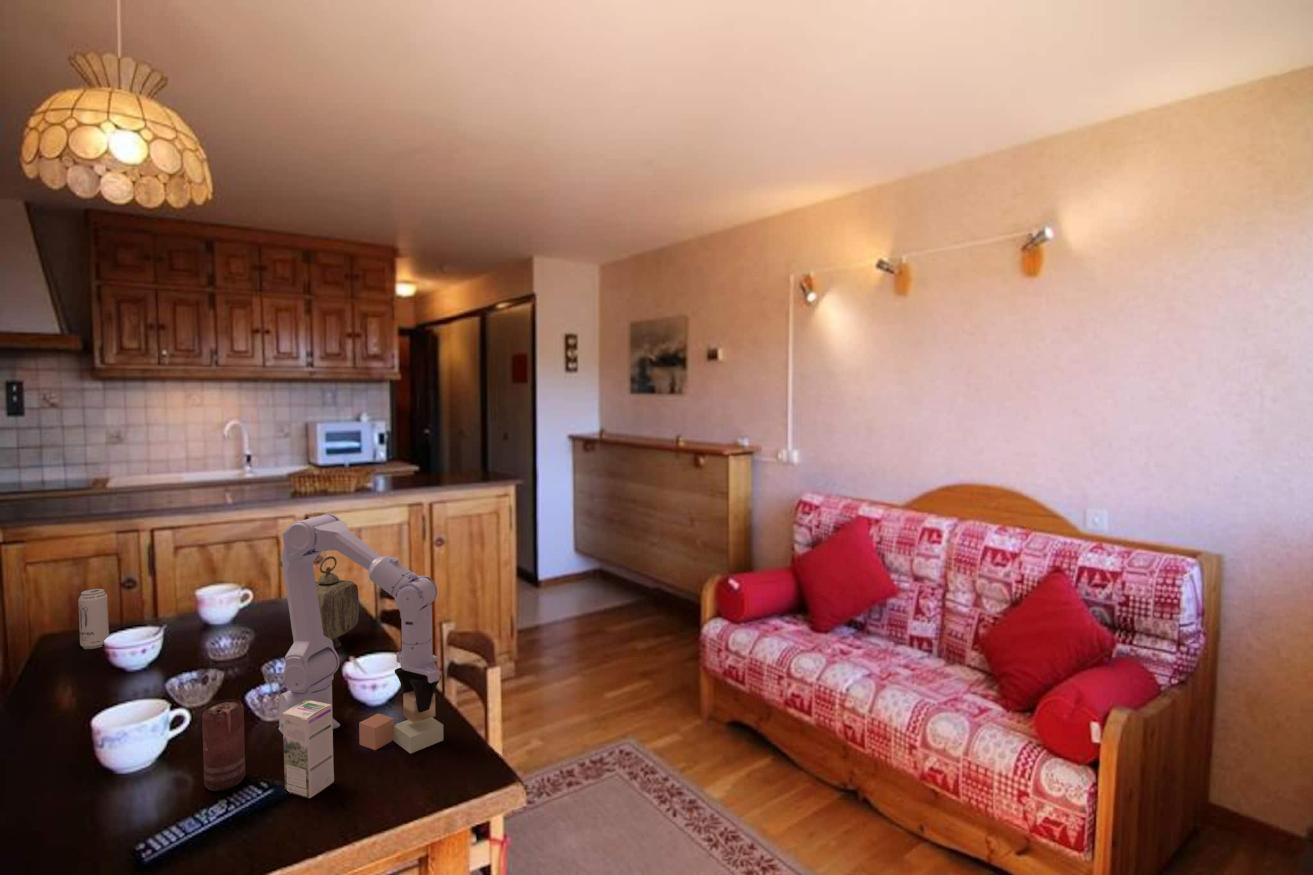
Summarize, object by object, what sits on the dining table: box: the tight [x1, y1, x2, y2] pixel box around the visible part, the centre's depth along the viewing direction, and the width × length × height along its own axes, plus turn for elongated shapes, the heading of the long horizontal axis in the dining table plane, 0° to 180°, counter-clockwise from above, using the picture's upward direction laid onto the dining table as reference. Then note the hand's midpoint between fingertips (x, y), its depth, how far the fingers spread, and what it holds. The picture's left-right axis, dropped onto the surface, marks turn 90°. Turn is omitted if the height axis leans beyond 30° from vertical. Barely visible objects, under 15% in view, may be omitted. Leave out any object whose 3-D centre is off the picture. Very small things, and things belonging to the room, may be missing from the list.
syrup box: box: [282, 700, 335, 799], centre depth 117 cm, size 6×6×14 cm
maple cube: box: [402, 691, 436, 723], centre depth 134 cm, size 4×4×4 cm
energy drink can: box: [77, 588, 110, 650], centre depth 181 cm, size 6×6×15 cm
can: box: [201, 698, 246, 792], centre depth 118 cm, size 6×6×14 cm
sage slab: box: [392, 717, 444, 754], centre depth 134 cm, size 7×7×4 cm
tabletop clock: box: [316, 555, 360, 649], centre depth 181 cm, size 14×9×25 cm, turn 172°
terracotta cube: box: [358, 713, 395, 751], centre depth 133 cm, size 4×4×4 cm
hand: (417, 706), depth 133 cm, fingers closed on maple cube, 4 cm apart
